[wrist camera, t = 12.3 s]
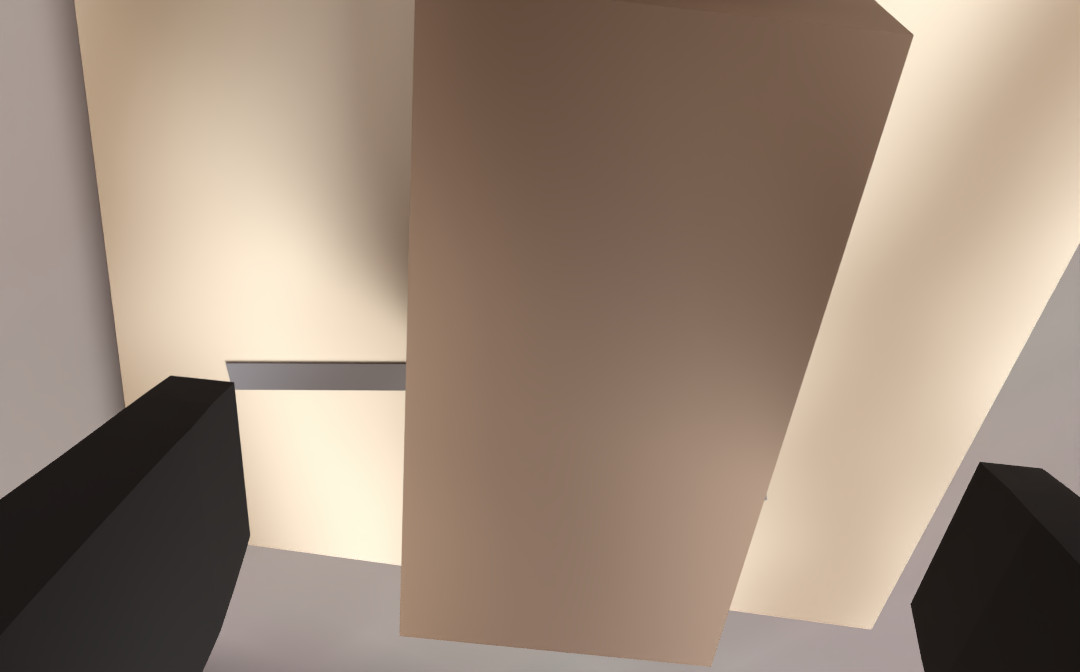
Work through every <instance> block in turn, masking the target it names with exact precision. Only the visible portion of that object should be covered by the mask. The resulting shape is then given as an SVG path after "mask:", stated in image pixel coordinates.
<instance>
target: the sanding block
mask: <svg viewBox="0 0 1080 672" xmlns="http://www.w3.org/2000/svg"><path fill="white" fill-rule="evenodd" d="M913 36H914V35H913V34H912V33H911V32H910V31H909V30H908V29H907V28H905V27H904V26H903V25H902V24H901V23H900V22H899V21H898V20H896V19H895V18H894V17H893V16H892V15H891V14H890V13H889V12H887V11H886V10H885V9H884V8H883V7H882V6H881V5H880V4H878V3H877V2H876V1H875V0H415V12H414V54H413V96H412V137H411V179H410V221H409V263H408V305H407V347H406V389H405V431H404V473H403V515H402V556H401V598H400V636H405V637H415V638H426V639H436V640H446V641H456V642H466V643H476V644H486V645H496V646H506V647H517V648H527V649H537V650H547V651H557V652H567V653H577V654H587V655H598V656H608V657H618V658H628V659H638V660H648V661H658V662H668V663H678V664H689V665H699V666H709V667H711V665H712V662H713V659H714V656H715V653H716V649H717V646H718V643H719V640H720V637H721V634H722V631H723V628H724V625H725V621H726V618H727V615H728V612H729V609H730V606H731V603H732V600H733V596H734V593H735V590H736V587H737V584H738V581H739V578H740V575H741V572H742V568H743V565H744V562H745V559H746V556H747V553H748V550H749V547H750V544H751V540H752V537H753V534H754V531H755V528H756V525H757V522H758V519H759V516H760V512H761V509H762V506H763V503H764V500H765V497H766V494H767V491H768V488H769V484H770V481H771V478H772V475H773V472H774V469H775V466H776V463H777V460H778V456H779V453H780V450H781V447H782V444H783V441H784V438H785V435H786V432H787V428H788V425H789V422H790V419H791V416H792V413H793V410H794V407H795V403H796V400H797V397H798V394H799V391H800V388H801V385H802V382H803V379H804V375H805V372H806V369H807V366H808V363H809V360H810V357H811V354H812V351H813V347H814V344H815V341H816V338H817V335H818V332H819V329H820V326H821V323H822V319H823V316H824V313H825V310H826V307H827V304H828V301H829V298H830V295H831V291H832V288H833V285H834V282H835V279H836V276H837V273H838V270H839V267H840V263H841V260H842V257H843V254H844V251H845V248H846V245H847V242H848V239H849V235H850V232H851V229H852V226H853V223H854V220H855V217H856V214H857V210H858V207H859V204H860V201H861V198H862V195H863V192H864V189H865V186H866V182H867V179H868V176H869V173H870V170H871V167H872V164H873V161H874V158H875V154H876V151H877V148H878V145H879V142H880V139H881V136H882V133H883V130H884V126H885V123H886V120H887V117H888V114H889V111H890V108H891V105H892V102H893V98H894V95H895V92H896V89H897V86H898V83H899V80H900V77H901V74H902V70H903V67H904V64H905V61H906V58H907V55H908V52H909V49H910V46H911V42H912V39H913Z"/></svg>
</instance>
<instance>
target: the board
mask: <svg viewBox="0 0 1080 672" xmlns="http://www.w3.org/2000/svg"><path fill="white" fill-rule="evenodd" d="M875 1H876V2H877V3H878V4H880V5H881V6H882V7H883V8H884V9H885V10H886V11H887V12H889V13H890V14H891V15H892V16H893V17H894V18H895V19H896V20H898V21H899V22H900V23H901V24H902V25H903V26H904V27H905V28H907V29H908V30H909V31H910V32H911V33H912V34H913V35H914V36H913V39H912V42H911V46H910V49H909V52H908V55H907V58H906V61H905V64H904V67H903V70H902V74H901V77H900V80H899V83H898V86H897V89H896V92H895V95H894V98H893V102H892V105H891V108H890V111H889V114H888V117H887V120H886V123H885V126H884V130H883V133H882V136H881V139H880V142H879V145H878V148H877V151H876V154H875V158H874V161H873V164H872V167H871V170H870V173H869V176H868V179H867V182H866V186H865V189H864V192H863V195H862V198H861V201H860V204H859V207H858V210H857V214H856V217H855V220H854V223H853V226H852V229H851V232H850V235H849V239H848V242H847V245H846V248H845V251H844V254H843V257H842V260H841V263H840V267H839V270H838V273H837V276H836V279H835V282H834V285H833V288H832V291H831V295H830V298H829V301H828V304H827V307H826V310H825V313H824V316H823V319H822V323H821V326H820V329H819V332H818V335H817V338H816V341H815V344H814V347H813V351H812V354H811V357H810V360H809V363H808V366H807V369H806V372H805V375H804V379H803V382H802V385H801V388H800V391H799V394H798V397H797V400H796V403H795V407H794V410H793V413H792V416H791V419H790V422H789V425H788V428H787V432H786V435H785V438H784V441H783V444H782V447H781V450H780V453H779V456H778V460H777V463H776V466H775V469H774V472H773V475H772V478H771V481H770V484H769V488H768V491H767V494H766V497H765V500H764V503H763V506H762V509H761V512H760V516H759V519H758V522H757V525H756V528H755V531H754V534H753V537H752V540H751V544H750V547H749V550H748V553H747V556H746V559H745V562H744V565H743V568H742V572H741V575H740V578H739V581H738V584H737V587H736V590H735V593H734V596H733V600H732V603H731V606H730V609H729V610H732V611H740V612H747V613H754V614H762V615H769V616H776V617H784V618H791V619H798V620H806V621H813V622H820V623H828V624H835V625H842V626H850V627H857V628H864V629H872V627H873V625H874V623H875V621H876V620H877V618H878V616H879V614H880V612H881V610H882V608H883V607H884V605H885V603H886V601H887V599H888V597H889V595H890V594H891V592H892V590H893V588H894V586H895V584H896V582H897V581H898V579H899V577H900V575H901V573H902V571H903V569H904V568H905V566H906V564H907V562H908V560H909V558H910V556H911V555H912V553H913V551H914V549H915V547H916V545H917V543H918V542H919V540H920V538H921V536H922V534H923V532H924V530H925V529H926V527H927V525H928V523H929V521H930V519H931V517H932V516H933V514H934V512H935V510H936V508H937V506H938V504H939V503H940V501H941V499H942V497H943V495H944V493H945V491H946V490H947V488H948V486H949V484H950V482H951V480H952V478H953V477H954V475H955V473H956V471H957V469H958V467H959V465H960V464H961V462H962V460H963V458H964V456H965V454H966V452H967V451H968V449H969V447H970V445H971V443H972V441H973V439H974V438H975V436H976V434H977V432H978V430H979V428H980V426H981V425H982V423H983V421H984V419H985V417H986V415H987V413H988V412H989V410H990V408H991V406H992V404H993V402H994V400H995V399H996V397H997V395H998V393H999V391H1000V389H1001V387H1002V386H1003V384H1004V382H1005V380H1006V378H1007V376H1008V375H1009V373H1010V371H1011V369H1012V367H1013V365H1014V363H1015V362H1016V360H1017V358H1018V356H1019V354H1020V352H1021V350H1022V349H1023V347H1024V345H1025V343H1026V341H1027V339H1028V337H1029V336H1030V334H1031V332H1032V330H1033V328H1034V326H1035V324H1036V323H1037V321H1038V319H1039V317H1040V315H1041V313H1042V311H1043V310H1044V308H1045V306H1046V304H1047V302H1048V300H1049V298H1050V297H1051V295H1052V293H1053V291H1054V289H1055V287H1056V285H1057V284H1058V282H1059V280H1060V278H1061V276H1062V274H1063V272H1064V271H1065V269H1066V267H1067V265H1068V263H1069V261H1070V259H1071V258H1072V256H1073V254H1074V252H1075V250H1076V248H1077V246H1078V245H1079V243H1080V0H875ZM74 3H75V11H76V19H77V27H78V35H79V43H80V51H81V58H82V66H83V74H84V82H85V90H86V98H87V106H88V114H89V122H90V130H91V138H92V146H93V154H94V162H95V170H96V178H97V186H98V194H99V202H100V210H101V218H102V226H103V234H104V242H105V249H106V257H107V265H108V273H109V281H110V289H111V297H112V305H113V313H114V321H115V329H116V337H117V345H118V353H119V361H120V369H121V377H122V385H123V393H124V401H125V408H126V407H127V406H129V405H130V404H131V403H133V402H134V401H135V400H137V399H138V398H139V397H141V396H142V395H144V394H145V393H146V392H148V391H149V390H150V389H152V388H153V387H155V386H156V385H158V384H159V383H160V382H162V381H163V380H165V379H166V378H168V377H169V376H170V375H171V376H181V377H190V378H199V379H209V380H218V381H227V382H234V385H235V394H236V404H237V413H238V423H239V432H240V442H241V451H242V461H243V470H244V480H245V489H246V499H247V508H248V518H249V527H250V538H249V542H248V545H254V546H262V547H269V548H277V549H284V550H291V551H299V552H306V553H313V554H321V555H328V556H335V557H343V558H350V559H357V560H365V561H372V562H379V563H387V564H394V565H401V556H402V515H403V473H404V431H405V389H406V347H407V305H408V263H409V221H410V179H411V137H412V96H413V54H414V12H415V0H74Z"/></svg>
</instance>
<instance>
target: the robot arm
mask: <svg viewBox="0 0 1080 672" xmlns="http://www.w3.org/2000/svg"><path fill="white" fill-rule="evenodd" d="M249 538H250V527H249V518H248V508H247V499H246V489H245V480H244V470H243V461H242V451H241V442H240V432H239V423H238V413H237V404H236V394H235V385H234V382H227V381H218V380H209V379H199V378H190V377H181V376H171V375H170V376H169V377H168V378H166V379H165V380H163V381H162V382H160V383H159V384H158V385H156V386H155V387H153V388H152V389H150V390H149V391H148V392H146V393H145V394H144V395H142V396H141V397H139V398H138V399H137V400H135V401H134V402H133V403H131V404H130V405H129V406H127V407H126V408H125V409H123V410H122V411H121V412H119V413H118V414H117V415H115V416H114V417H113V418H111V419H110V420H109V421H107V422H106V423H105V424H103V425H102V426H101V427H99V428H98V429H97V430H95V431H94V432H93V433H91V434H90V435H88V436H87V437H86V438H84V439H83V440H82V441H80V442H79V443H78V444H76V445H75V446H74V447H72V448H71V449H70V450H68V451H67V452H65V453H64V454H63V455H61V456H60V457H59V458H57V459H56V460H55V461H53V462H52V463H50V464H49V465H48V466H46V467H45V468H43V469H42V470H41V471H39V472H38V473H36V474H35V475H34V476H32V477H31V478H30V479H28V480H27V481H25V482H24V483H23V484H21V485H20V486H18V487H17V488H16V489H14V490H13V491H11V492H10V493H9V494H7V495H6V496H5V497H3V498H2V499H0V672H203V669H204V667H205V665H206V663H207V660H208V658H209V656H210V654H211V651H212V649H213V647H214V645H215V642H216V640H217V638H218V635H219V633H220V631H221V628H222V625H223V622H224V619H225V616H226V612H227V609H228V606H229V603H230V600H231V597H232V594H233V591H234V588H235V585H236V581H237V578H238V575H239V572H240V568H241V565H242V562H243V558H244V555H245V552H246V548H247V545H248V542H249ZM911 608H912V613H913V618H914V623H915V628H916V633H917V638H918V644H919V649H920V654H921V659H922V663H923V667H924V671H925V672H1080V497H1079V496H1078V495H1076V494H1075V493H1074V492H1072V491H1071V490H1070V489H1069V488H1067V487H1066V486H1065V485H1064V484H1062V483H1061V482H1059V481H1058V480H1057V479H1055V478H1054V477H1053V476H1051V475H1050V474H1049V473H1047V472H1046V471H1045V470H1043V469H1041V468H1031V467H1022V466H1013V465H1003V464H994V463H985V462H979V465H978V467H977V469H976V471H975V473H974V475H973V477H972V479H971V481H970V483H969V485H968V487H967V489H966V491H965V493H964V495H963V498H962V500H961V502H960V504H959V506H958V508H957V510H956V512H955V514H954V516H953V518H952V520H951V522H950V524H949V526H948V528H947V530H946V533H945V535H944V537H943V539H942V541H941V543H940V545H939V547H938V549H937V551H936V553H935V555H934V557H933V559H932V561H931V563H930V565H929V568H928V570H927V572H926V574H925V576H924V578H923V580H922V582H921V584H920V586H919V588H918V590H917V592H916V594H915V596H914V598H913V600H912V603H911Z"/></svg>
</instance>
